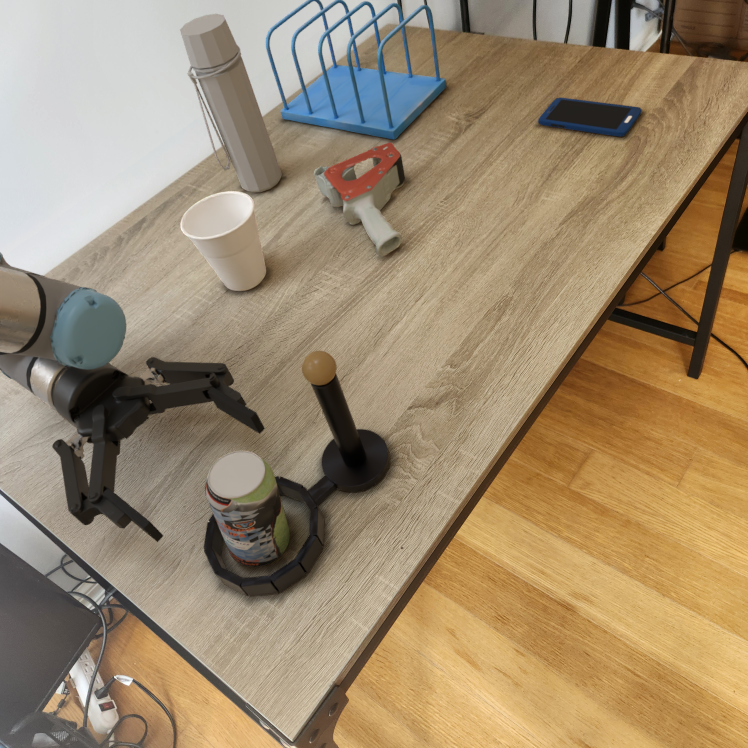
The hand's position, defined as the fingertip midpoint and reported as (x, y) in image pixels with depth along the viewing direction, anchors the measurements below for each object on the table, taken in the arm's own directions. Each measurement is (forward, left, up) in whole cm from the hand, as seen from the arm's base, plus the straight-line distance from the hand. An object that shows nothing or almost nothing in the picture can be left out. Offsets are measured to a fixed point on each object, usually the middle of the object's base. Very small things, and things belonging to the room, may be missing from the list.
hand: (208, 475), depth 60 cm
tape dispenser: (-11, +49, -8) cm, 51 cm away
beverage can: (+5, -1, -8) cm, 9 cm away
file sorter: (-27, +77, -8) cm, 82 cm away
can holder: (+5, +4, -8) cm, 10 cm away
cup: (-21, +31, -8) cm, 39 cm away
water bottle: (-33, +51, -8) cm, 62 cm away
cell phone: (+13, +78, -8) cm, 80 cm away
